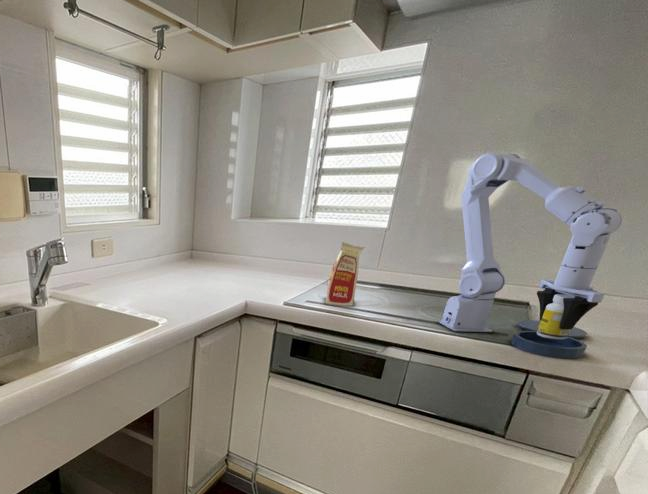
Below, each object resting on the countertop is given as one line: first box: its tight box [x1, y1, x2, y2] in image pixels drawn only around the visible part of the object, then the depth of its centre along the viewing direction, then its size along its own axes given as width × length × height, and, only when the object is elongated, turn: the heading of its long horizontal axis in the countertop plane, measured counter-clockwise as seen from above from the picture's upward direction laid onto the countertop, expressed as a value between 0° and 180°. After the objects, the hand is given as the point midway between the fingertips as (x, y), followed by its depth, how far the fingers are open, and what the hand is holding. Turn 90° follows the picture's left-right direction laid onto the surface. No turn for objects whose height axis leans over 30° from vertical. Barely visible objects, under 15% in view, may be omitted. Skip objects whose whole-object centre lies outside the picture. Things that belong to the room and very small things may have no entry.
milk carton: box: [325, 241, 366, 306], centre depth 134 cm, size 9×9×20 cm
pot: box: [511, 330, 588, 360], centre depth 96 cm, size 13×13×2 cm
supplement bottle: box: [537, 294, 575, 340], centre depth 94 cm, size 5×5×10 cm
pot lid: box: [517, 319, 588, 339], centre depth 107 cm, size 14×14×5 cm
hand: (555, 324), depth 94 cm, fingers closed on supplement bottle, 5 cm apart
